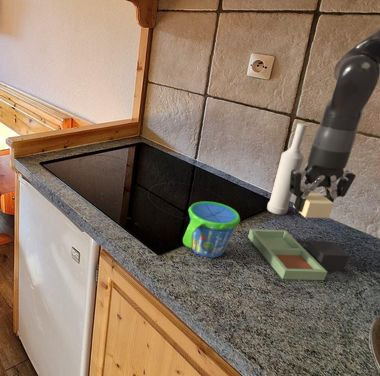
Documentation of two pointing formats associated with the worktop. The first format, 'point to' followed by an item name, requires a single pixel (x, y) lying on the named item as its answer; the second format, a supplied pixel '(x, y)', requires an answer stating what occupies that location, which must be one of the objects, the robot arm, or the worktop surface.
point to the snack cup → (210, 228)
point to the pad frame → (286, 255)
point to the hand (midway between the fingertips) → (311, 210)
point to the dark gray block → (328, 254)
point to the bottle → (286, 173)
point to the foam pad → (317, 206)
